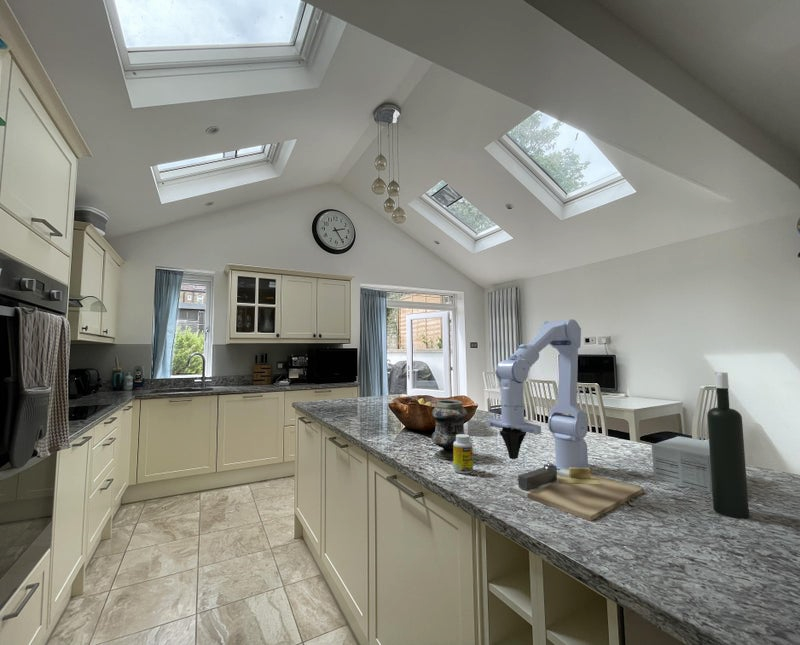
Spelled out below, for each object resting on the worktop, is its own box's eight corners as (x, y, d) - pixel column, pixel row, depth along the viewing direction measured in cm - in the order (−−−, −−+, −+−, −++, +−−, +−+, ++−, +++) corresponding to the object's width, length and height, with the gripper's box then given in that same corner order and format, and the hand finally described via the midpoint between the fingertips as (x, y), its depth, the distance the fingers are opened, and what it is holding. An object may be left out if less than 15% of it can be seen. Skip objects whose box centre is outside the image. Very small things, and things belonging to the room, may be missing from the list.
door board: (566, 471, 107) (566, 458, 108) (643, 492, 91) (642, 477, 92) (510, 491, 92) (509, 476, 92) (590, 521, 76) (589, 502, 76)
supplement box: (679, 467, 111) (677, 435, 112) (736, 480, 100) (733, 444, 101) (652, 477, 102) (650, 443, 103) (711, 493, 91) (708, 454, 92)
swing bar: (548, 475, 100) (548, 461, 100) (559, 479, 97) (559, 464, 97) (517, 486, 92) (516, 471, 92) (528, 490, 89) (527, 474, 89)
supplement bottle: (462, 475, 104) (462, 438, 105) (449, 470, 109) (449, 434, 109) (477, 472, 107) (476, 436, 108) (463, 467, 112) (463, 432, 112)
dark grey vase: (471, 461, 118) (469, 403, 119) (433, 461, 118) (432, 403, 119) (464, 450, 130) (463, 398, 131) (430, 450, 130) (429, 398, 131)
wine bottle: (752, 521, 76) (741, 373, 78) (716, 514, 79) (706, 372, 81) (745, 510, 81) (735, 372, 83) (711, 505, 84) (702, 371, 86)
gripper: (480, 404, 101) (481, 455, 99) (530, 410, 90) (532, 467, 89) (495, 401, 105) (496, 450, 104) (544, 407, 95) (545, 461, 94)
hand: (513, 458), depth 97 cm, fingers closed
